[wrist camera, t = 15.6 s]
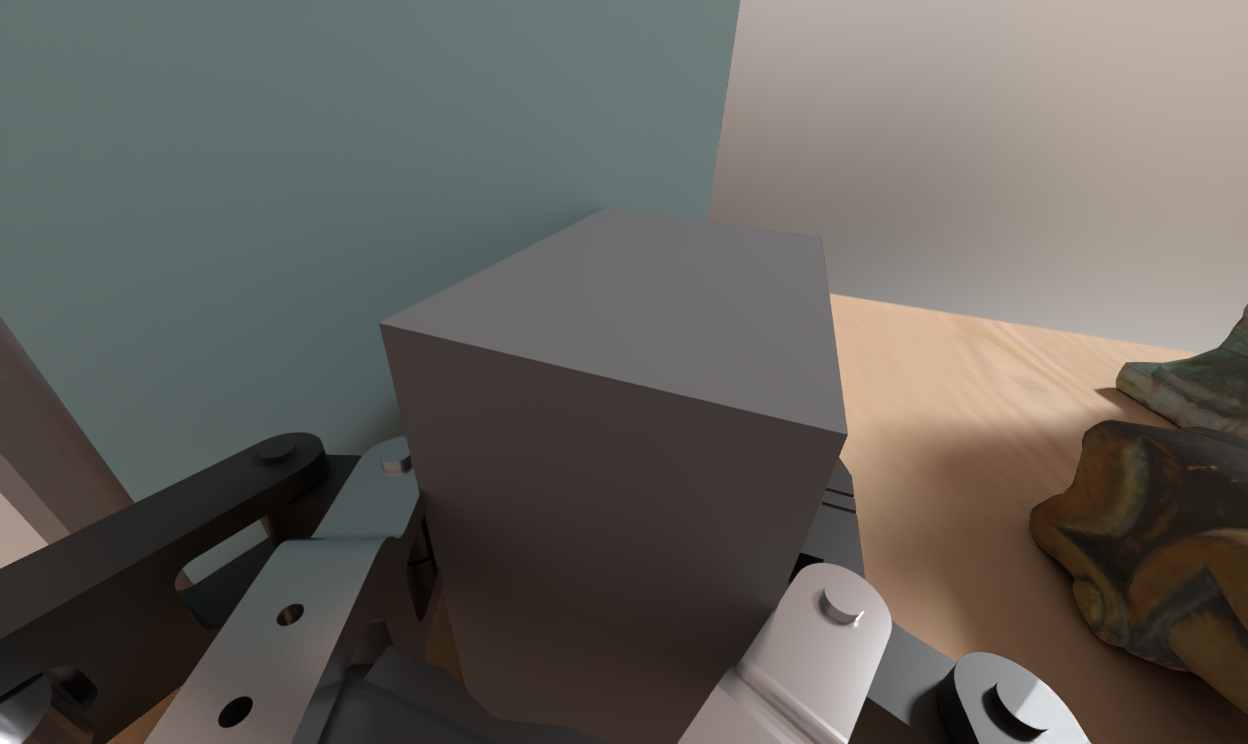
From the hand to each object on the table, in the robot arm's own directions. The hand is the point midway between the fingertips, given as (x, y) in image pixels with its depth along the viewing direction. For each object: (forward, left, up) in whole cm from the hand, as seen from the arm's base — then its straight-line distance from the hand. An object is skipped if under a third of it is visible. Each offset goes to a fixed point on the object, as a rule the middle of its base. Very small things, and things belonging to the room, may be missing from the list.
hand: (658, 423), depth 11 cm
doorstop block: (0, +1, -7) cm, 7 cm away
